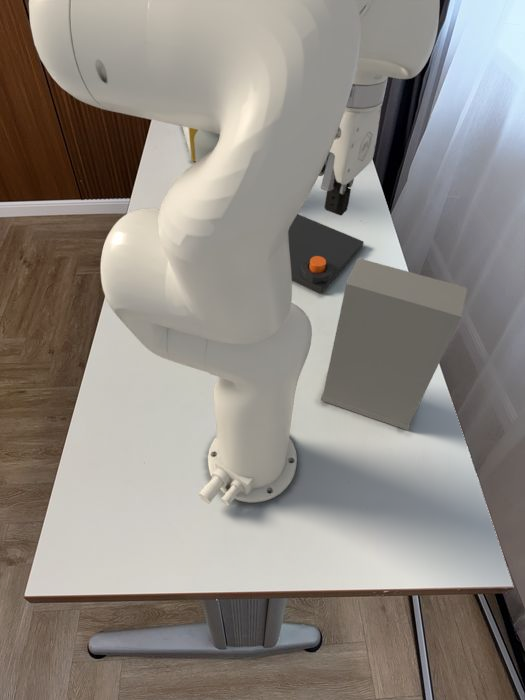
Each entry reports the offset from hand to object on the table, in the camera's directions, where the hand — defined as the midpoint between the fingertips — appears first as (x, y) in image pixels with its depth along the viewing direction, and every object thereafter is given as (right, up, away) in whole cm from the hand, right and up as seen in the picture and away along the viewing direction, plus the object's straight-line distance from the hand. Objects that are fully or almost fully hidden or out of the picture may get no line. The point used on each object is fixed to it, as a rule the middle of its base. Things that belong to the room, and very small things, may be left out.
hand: (335, 210), depth 79 cm
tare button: (-1, -7, +15) cm, 17 cm away
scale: (-2, -3, +22) cm, 23 cm away
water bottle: (-21, +12, +34) cm, 42 cm away
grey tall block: (+5, -30, 0) cm, 31 cm away
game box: (-29, +32, +50) cm, 66 cm away
